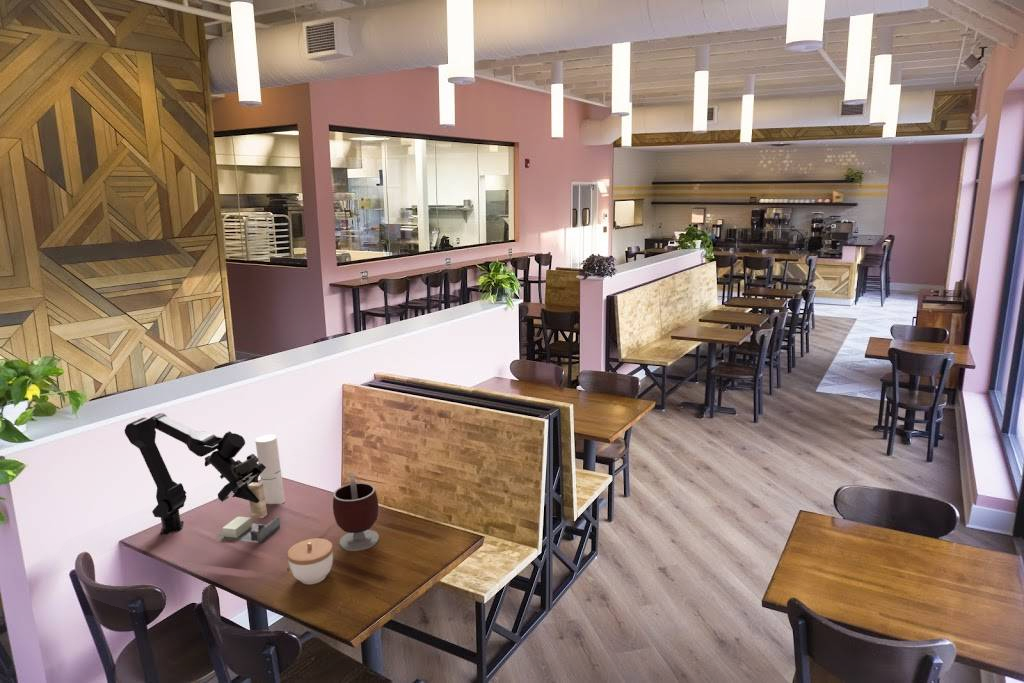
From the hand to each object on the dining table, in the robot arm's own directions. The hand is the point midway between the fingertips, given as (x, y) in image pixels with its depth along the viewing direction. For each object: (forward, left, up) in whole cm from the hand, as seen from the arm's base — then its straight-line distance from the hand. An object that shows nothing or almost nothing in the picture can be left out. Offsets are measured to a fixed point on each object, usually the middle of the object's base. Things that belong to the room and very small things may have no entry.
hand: (261, 500), depth 219 cm
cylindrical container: (-26, +3, -14) cm, 29 cm away
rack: (-3, -5, -13) cm, 15 cm away
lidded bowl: (+30, +14, -14) cm, 36 cm away
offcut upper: (-6, -9, -10) cm, 15 cm away
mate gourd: (+13, +29, -14) cm, 34 cm away
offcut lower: (-6, -9, -12) cm, 16 cm away
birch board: (-1, -1, -6) cm, 6 cm away
